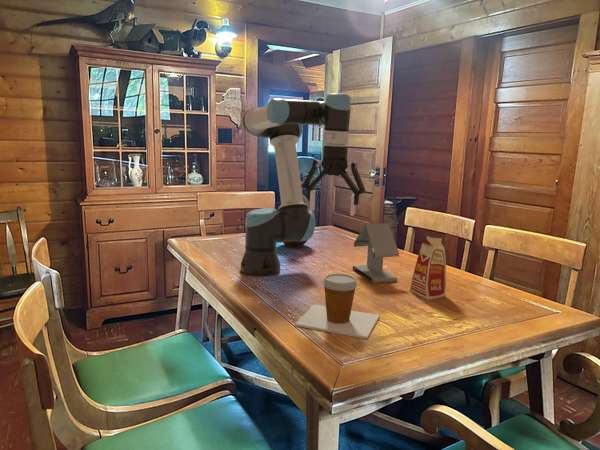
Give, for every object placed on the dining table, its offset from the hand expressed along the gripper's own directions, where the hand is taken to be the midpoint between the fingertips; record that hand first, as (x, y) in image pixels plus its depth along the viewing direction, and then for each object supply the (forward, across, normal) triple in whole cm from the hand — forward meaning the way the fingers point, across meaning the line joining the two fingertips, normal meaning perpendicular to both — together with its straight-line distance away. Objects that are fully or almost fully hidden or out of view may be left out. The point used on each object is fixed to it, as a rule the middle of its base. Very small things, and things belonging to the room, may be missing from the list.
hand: (331, 212), depth 147 cm
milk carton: (+27, +31, +15) cm, 43 cm away
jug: (+29, -35, +57) cm, 72 cm away
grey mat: (+26, +10, -22) cm, 36 cm away
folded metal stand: (+28, +10, +26) cm, 39 cm away
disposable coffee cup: (+26, +10, -22) cm, 35 cm away
